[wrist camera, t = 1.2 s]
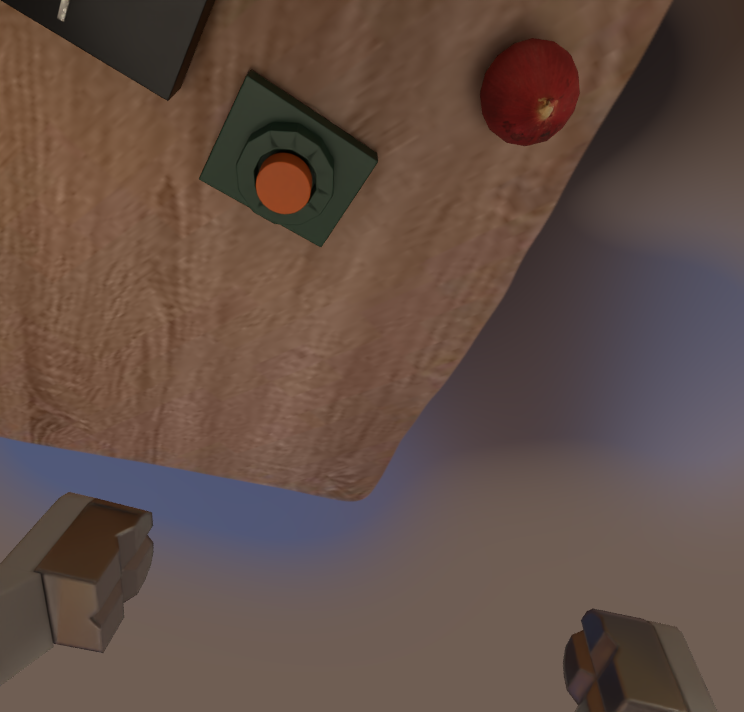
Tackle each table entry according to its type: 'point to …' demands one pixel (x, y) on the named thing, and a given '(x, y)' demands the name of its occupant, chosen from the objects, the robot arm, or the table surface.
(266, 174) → the button
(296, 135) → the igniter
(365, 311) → the table surface
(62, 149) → the table surface
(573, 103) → the red oval fruit
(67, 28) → the panel
